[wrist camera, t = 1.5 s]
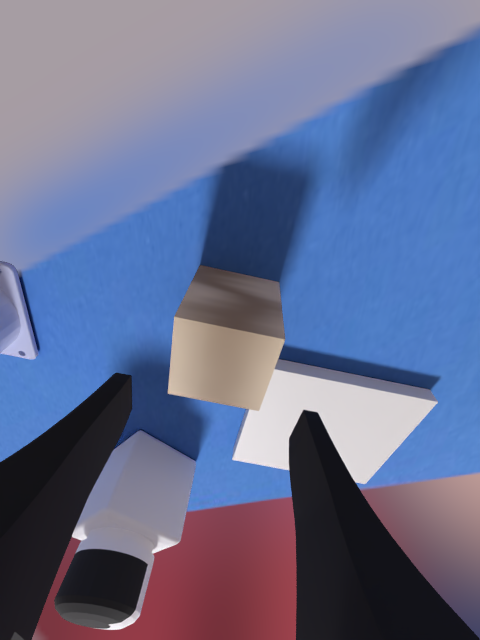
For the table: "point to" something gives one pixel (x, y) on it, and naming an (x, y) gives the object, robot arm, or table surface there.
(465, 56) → the table surface
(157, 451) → the medicine bottle
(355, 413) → the white board
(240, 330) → the maple block
